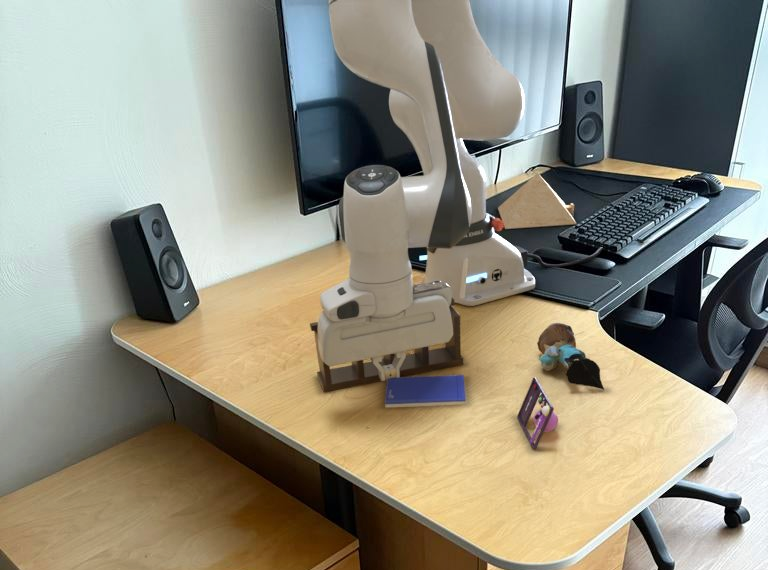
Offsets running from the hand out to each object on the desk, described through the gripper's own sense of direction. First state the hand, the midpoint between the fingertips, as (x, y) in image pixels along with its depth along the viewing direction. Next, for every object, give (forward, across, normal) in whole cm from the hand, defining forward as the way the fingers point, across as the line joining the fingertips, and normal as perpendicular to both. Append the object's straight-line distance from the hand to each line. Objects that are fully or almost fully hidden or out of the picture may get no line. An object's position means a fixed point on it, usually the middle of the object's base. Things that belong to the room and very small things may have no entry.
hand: (389, 377), depth 118 cm
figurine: (+4, -28, +2) cm, 29 cm away
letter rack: (+4, -3, -9) cm, 11 cm away
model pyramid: (+5, -58, -72) cm, 93 cm away
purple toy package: (+4, -17, +17) cm, 25 cm away
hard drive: (+5, -6, 0) cm, 7 cm away
